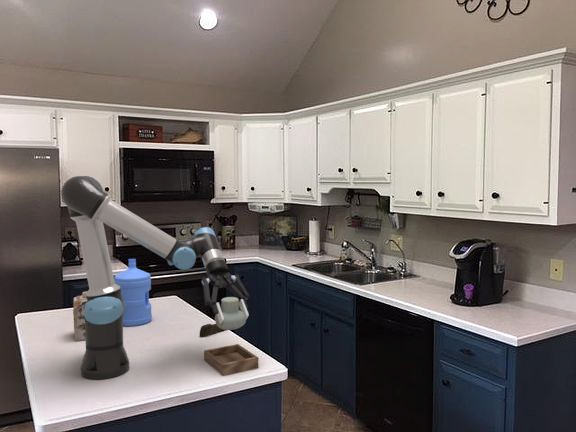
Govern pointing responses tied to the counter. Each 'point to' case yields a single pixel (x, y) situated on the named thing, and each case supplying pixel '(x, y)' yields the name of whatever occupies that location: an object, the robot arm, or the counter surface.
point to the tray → (230, 359)
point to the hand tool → (209, 329)
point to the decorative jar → (79, 316)
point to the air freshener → (231, 314)
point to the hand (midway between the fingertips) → (234, 319)
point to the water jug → (135, 294)
